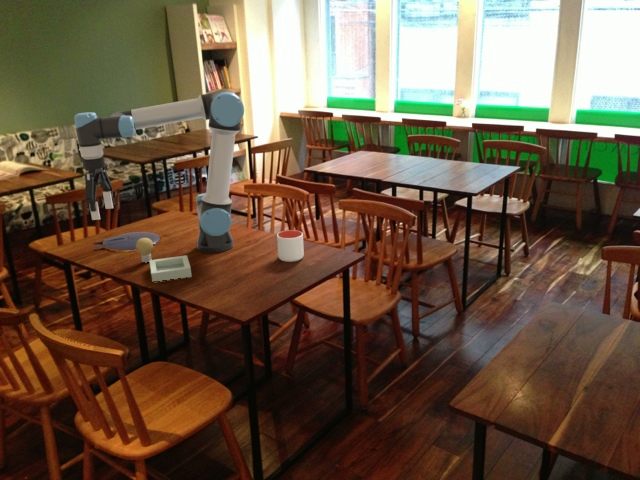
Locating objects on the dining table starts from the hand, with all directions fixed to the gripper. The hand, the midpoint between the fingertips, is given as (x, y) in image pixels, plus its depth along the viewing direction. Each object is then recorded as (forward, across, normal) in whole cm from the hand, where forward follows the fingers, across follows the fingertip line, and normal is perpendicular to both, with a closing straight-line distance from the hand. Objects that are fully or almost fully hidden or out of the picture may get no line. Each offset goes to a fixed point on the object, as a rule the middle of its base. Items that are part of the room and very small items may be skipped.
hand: (103, 213), depth 216 cm
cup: (+24, -8, +68) cm, 72 cm away
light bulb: (+23, -8, +11) cm, 27 cm away
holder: (+23, +4, +23) cm, 33 cm away
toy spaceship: (+23, -31, -5) cm, 39 cm away
